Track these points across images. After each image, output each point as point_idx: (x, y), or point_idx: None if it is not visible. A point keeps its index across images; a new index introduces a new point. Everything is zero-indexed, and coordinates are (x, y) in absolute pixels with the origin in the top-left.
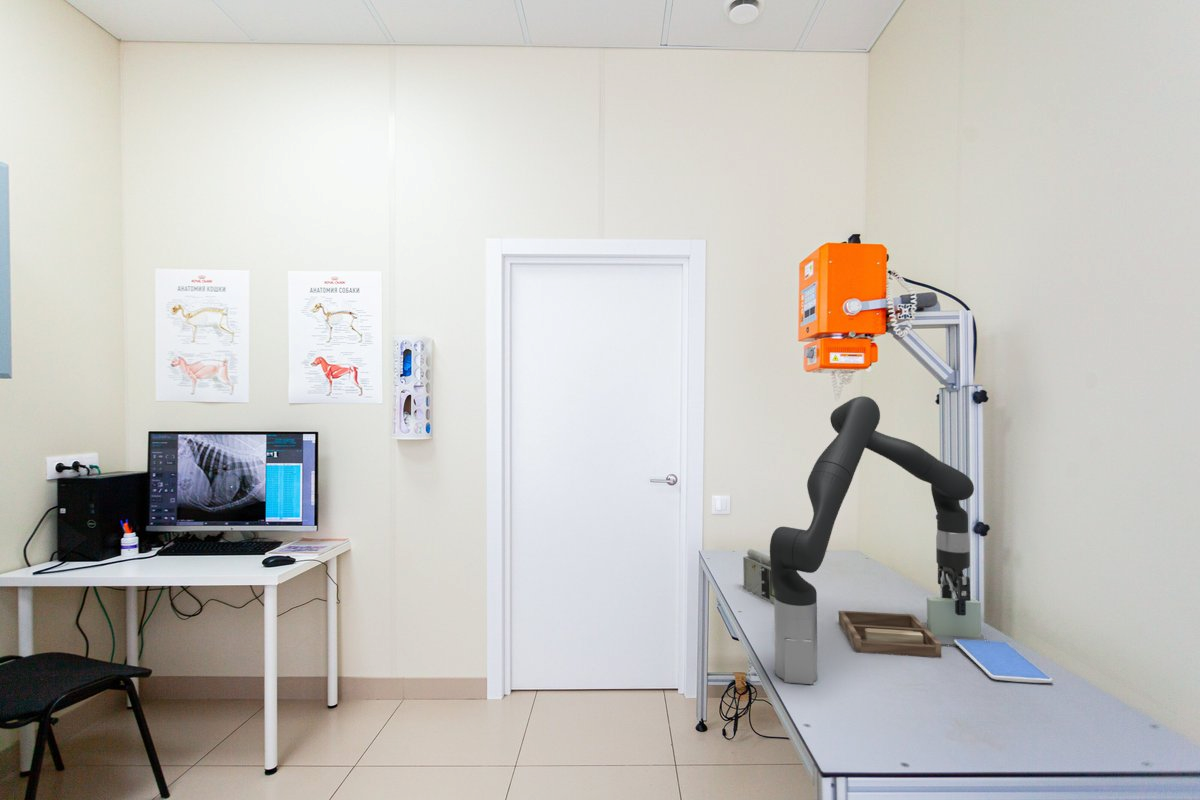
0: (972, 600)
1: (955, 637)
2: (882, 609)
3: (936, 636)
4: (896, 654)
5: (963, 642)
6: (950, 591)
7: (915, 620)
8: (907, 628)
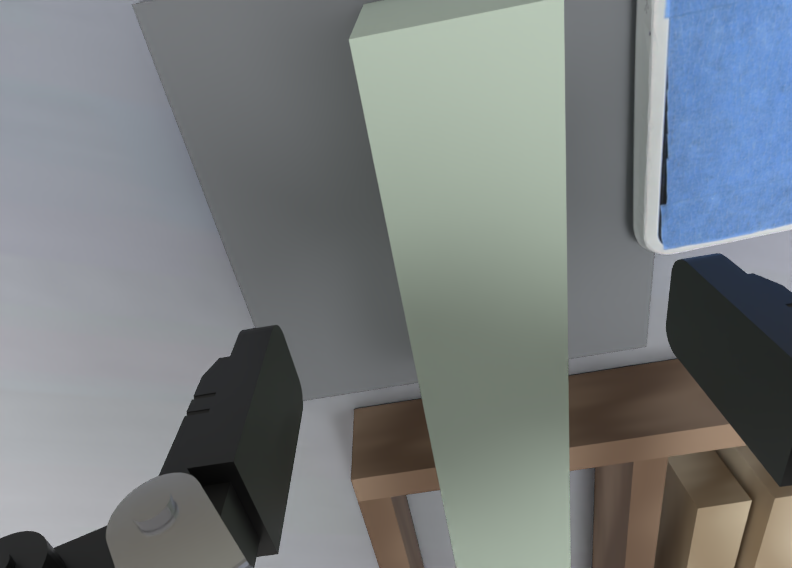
0: (434, 135)
1: None
2: (98, 518)
3: None
4: None
5: (719, 202)
6: (241, 459)
7: None
8: (646, 523)
